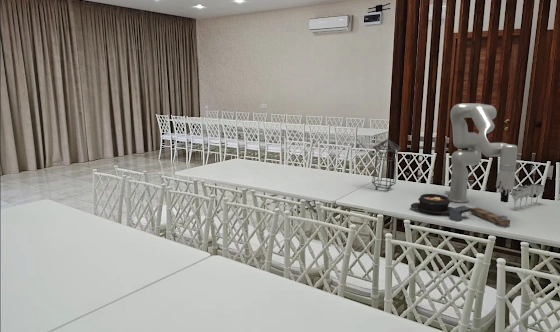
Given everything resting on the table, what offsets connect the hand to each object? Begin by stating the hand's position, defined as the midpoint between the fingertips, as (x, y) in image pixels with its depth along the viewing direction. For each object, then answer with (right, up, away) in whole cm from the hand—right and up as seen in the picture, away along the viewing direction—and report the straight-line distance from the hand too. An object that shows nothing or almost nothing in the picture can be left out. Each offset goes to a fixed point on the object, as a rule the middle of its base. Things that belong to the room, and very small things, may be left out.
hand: (504, 201), depth 212 cm
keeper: (-22, -9, +3) cm, 24 cm away
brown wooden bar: (-8, -9, +1) cm, 12 cm away
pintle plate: (-5, -11, -8) cm, 15 cm away
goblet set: (+26, -6, +24) cm, 36 cm away
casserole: (-32, -7, +15) cm, 36 cm away
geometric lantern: (-48, +3, +63) cm, 79 cm away
